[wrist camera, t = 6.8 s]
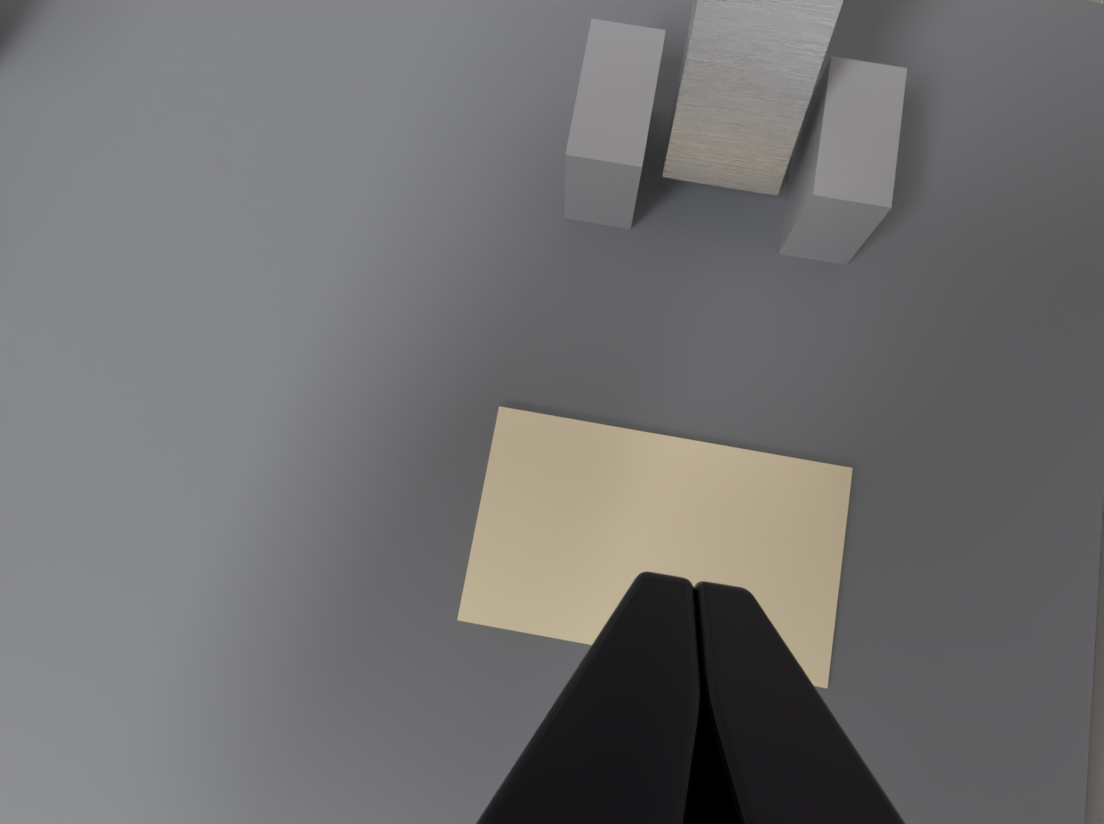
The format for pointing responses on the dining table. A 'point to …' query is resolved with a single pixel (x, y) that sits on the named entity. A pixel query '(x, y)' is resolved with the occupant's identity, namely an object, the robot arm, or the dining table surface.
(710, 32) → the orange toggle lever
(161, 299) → the switch panel
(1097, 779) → the dining table surface
